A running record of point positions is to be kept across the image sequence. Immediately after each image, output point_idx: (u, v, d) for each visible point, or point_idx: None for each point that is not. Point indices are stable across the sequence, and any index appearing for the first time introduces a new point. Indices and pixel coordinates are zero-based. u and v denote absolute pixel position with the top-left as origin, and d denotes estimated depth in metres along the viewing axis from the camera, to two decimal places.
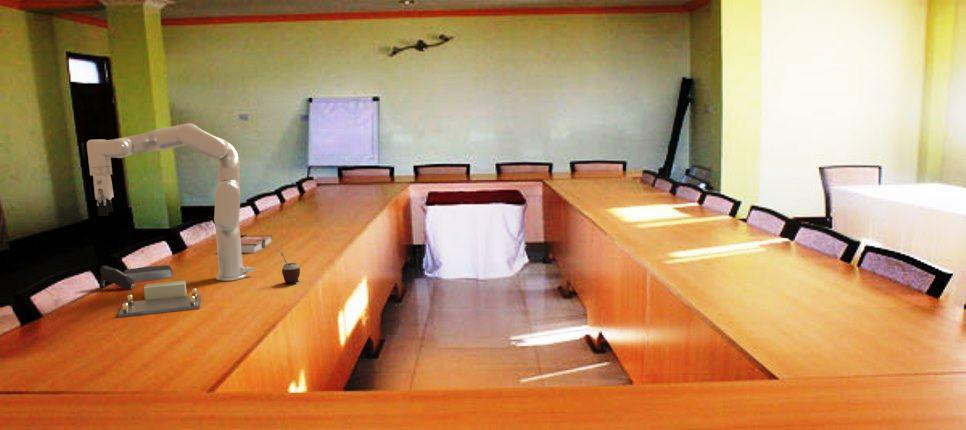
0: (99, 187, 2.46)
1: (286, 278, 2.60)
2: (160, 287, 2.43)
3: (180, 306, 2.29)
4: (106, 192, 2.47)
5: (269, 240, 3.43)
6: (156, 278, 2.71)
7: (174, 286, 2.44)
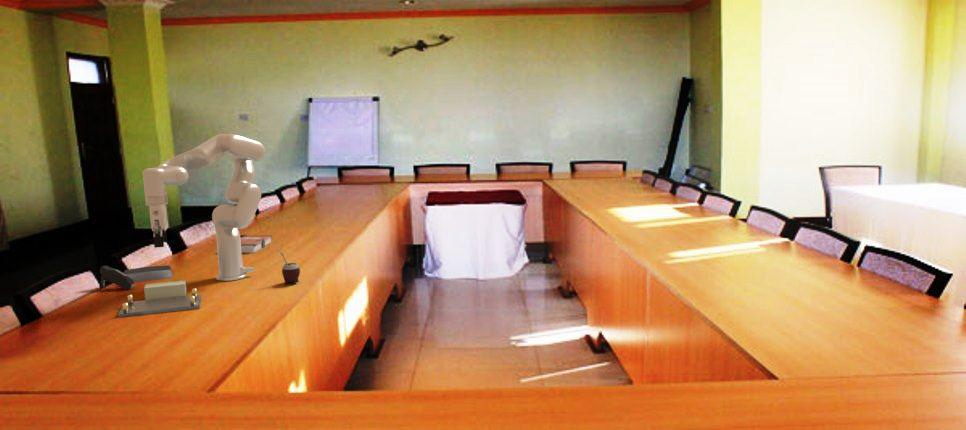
0: (155, 218, 2.37)
1: (286, 278, 2.60)
2: (160, 287, 2.43)
3: (180, 306, 2.29)
4: (162, 223, 2.38)
5: (269, 240, 3.43)
6: (157, 278, 2.71)
7: (174, 286, 2.45)
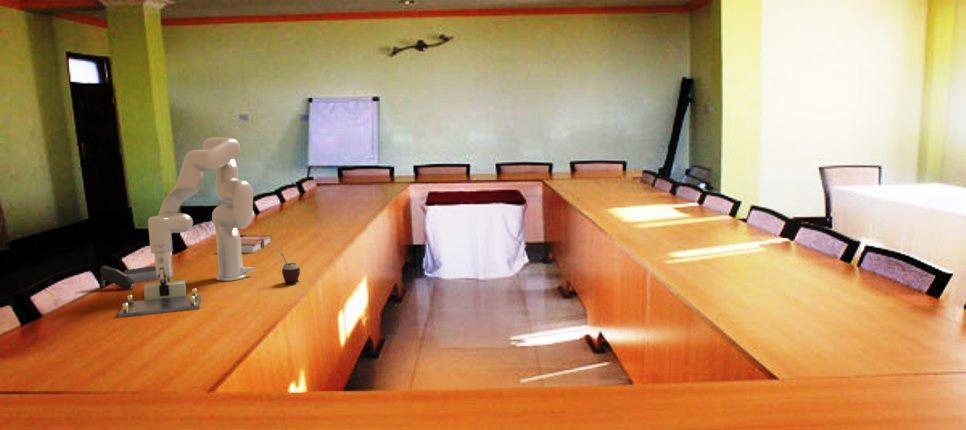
0: (161, 265, 2.40)
1: (286, 278, 2.60)
2: None
3: (180, 306, 2.29)
4: (167, 270, 2.41)
5: (268, 240, 3.43)
6: None
7: (174, 285, 2.44)
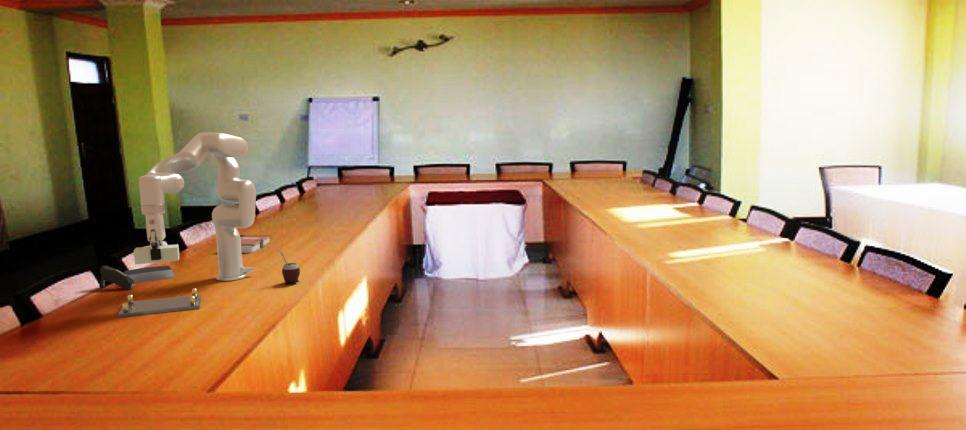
0: (152, 227, 2.25)
1: (286, 278, 2.60)
2: None
3: (180, 306, 2.29)
4: (159, 233, 2.26)
5: (267, 240, 3.43)
6: (159, 278, 2.71)
7: (166, 249, 2.30)
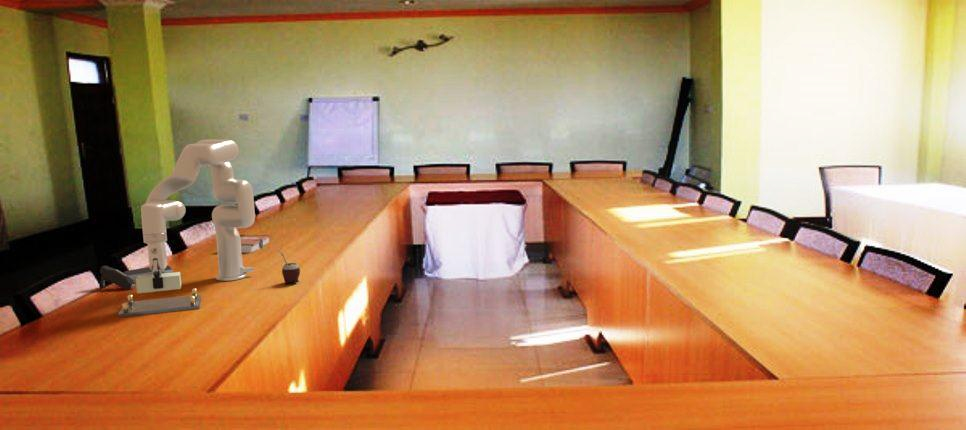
0: (154, 256, 2.24)
1: (286, 278, 2.60)
2: None
3: (180, 306, 2.29)
4: (161, 261, 2.26)
5: (267, 240, 3.43)
6: None
7: (168, 277, 2.29)
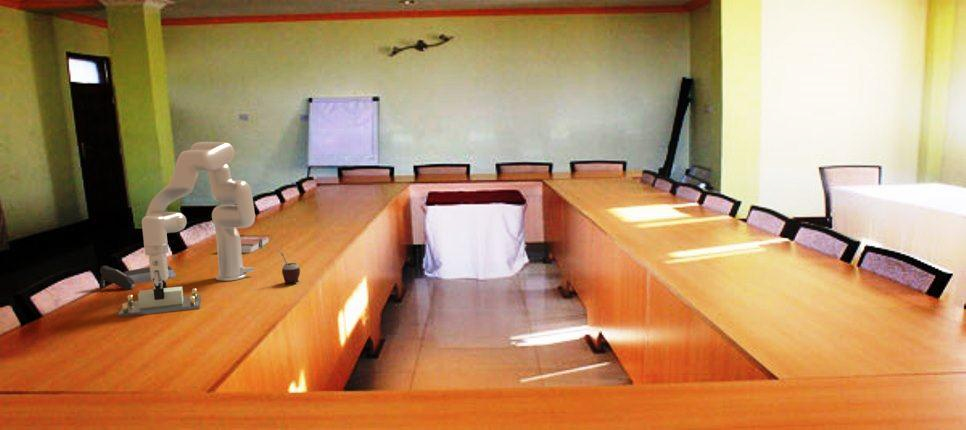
0: (155, 268, 2.25)
1: (286, 278, 2.60)
2: None
3: (180, 306, 2.29)
4: (163, 273, 2.26)
5: (266, 240, 3.43)
6: None
7: (170, 293, 2.30)
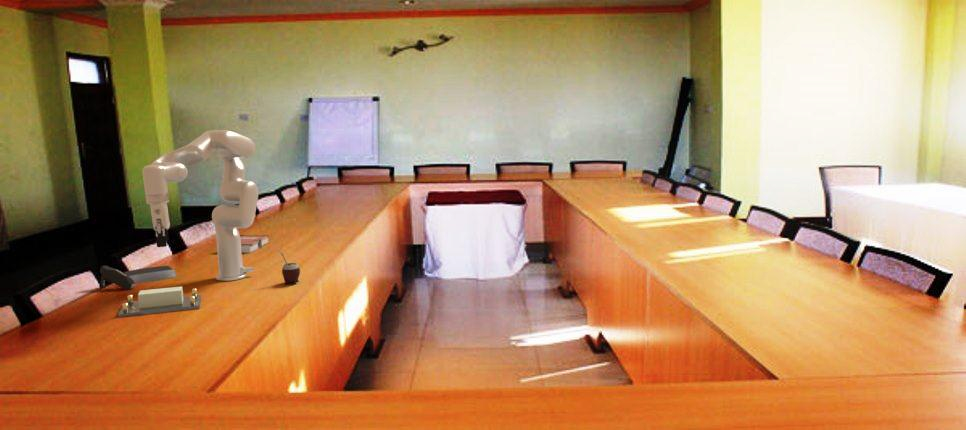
0: (157, 217, 2.30)
1: (286, 278, 2.60)
2: (155, 294, 2.28)
3: (180, 306, 2.29)
4: (165, 222, 2.31)
5: (266, 240, 3.43)
6: (161, 278, 2.71)
7: (170, 293, 2.30)
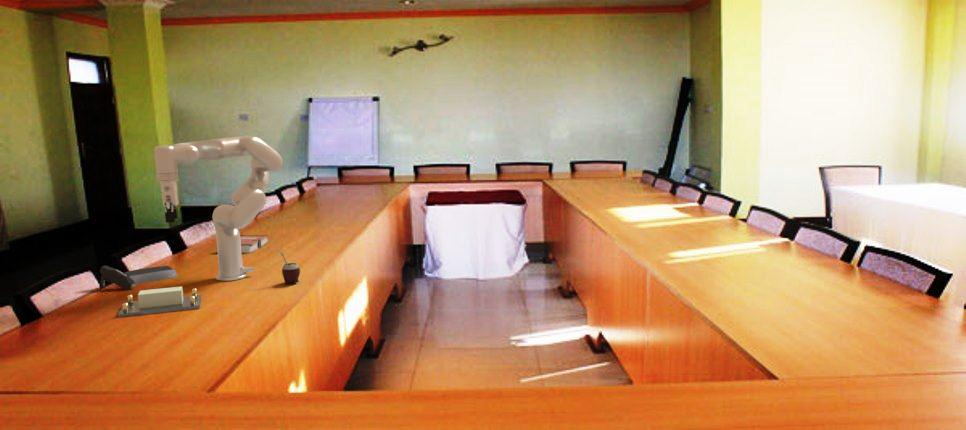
0: (167, 193, 2.44)
1: (286, 278, 2.60)
2: (155, 294, 2.28)
3: (180, 306, 2.29)
4: (174, 198, 2.45)
5: (265, 240, 3.43)
6: (162, 278, 2.71)
7: (170, 293, 2.30)
